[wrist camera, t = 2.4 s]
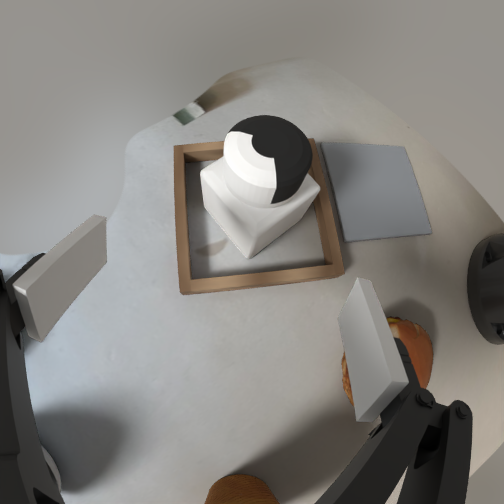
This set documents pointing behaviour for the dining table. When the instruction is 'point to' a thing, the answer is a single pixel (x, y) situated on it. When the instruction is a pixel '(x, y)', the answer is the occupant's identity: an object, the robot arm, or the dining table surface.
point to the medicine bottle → (260, 182)
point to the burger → (415, 344)
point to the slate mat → (375, 191)
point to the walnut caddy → (254, 280)
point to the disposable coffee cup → (240, 491)
